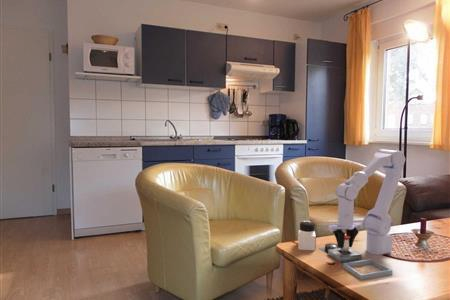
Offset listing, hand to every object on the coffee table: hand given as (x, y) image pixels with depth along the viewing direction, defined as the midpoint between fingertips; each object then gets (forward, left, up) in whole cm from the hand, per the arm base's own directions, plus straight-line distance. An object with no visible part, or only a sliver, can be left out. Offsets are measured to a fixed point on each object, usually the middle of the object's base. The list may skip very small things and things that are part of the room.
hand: (344, 247), depth 134 cm
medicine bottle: (+9, -14, -5) cm, 17 cm away
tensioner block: (0, -3, -5) cm, 6 cm away
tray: (0, +13, -5) cm, 14 cm away
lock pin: (0, 0, -4) cm, 4 cm away
